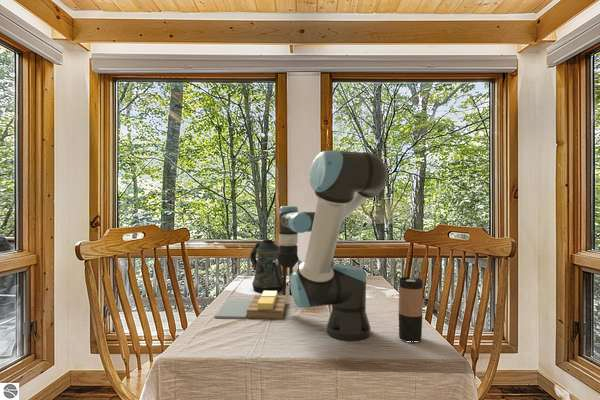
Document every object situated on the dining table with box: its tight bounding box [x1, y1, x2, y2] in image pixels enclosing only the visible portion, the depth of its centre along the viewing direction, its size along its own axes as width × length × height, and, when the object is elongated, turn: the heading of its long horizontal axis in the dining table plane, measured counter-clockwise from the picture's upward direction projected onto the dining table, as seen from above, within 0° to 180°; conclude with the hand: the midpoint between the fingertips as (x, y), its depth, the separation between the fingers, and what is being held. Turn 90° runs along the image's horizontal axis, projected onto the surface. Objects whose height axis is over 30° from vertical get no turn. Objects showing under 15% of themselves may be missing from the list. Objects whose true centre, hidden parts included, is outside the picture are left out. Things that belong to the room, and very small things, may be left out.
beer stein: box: [249, 239, 283, 294], centre depth 192 cm, size 16×19×25 cm
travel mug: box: [398, 276, 424, 342], centre depth 126 cm, size 8×8×20 cm
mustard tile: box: [257, 297, 275, 310], centre depth 152 cm, size 9×6×2 cm, turn 178°
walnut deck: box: [246, 294, 287, 319], centre depth 157 cm, size 22×14×3 cm, turn 178°
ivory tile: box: [260, 291, 278, 302], centre depth 163 cm, size 9×6×2 cm, turn 178°
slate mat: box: [214, 298, 253, 320], centre depth 158 cm, size 24×12×1 cm, turn 178°
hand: (287, 303), depth 152 cm, fingers closed
